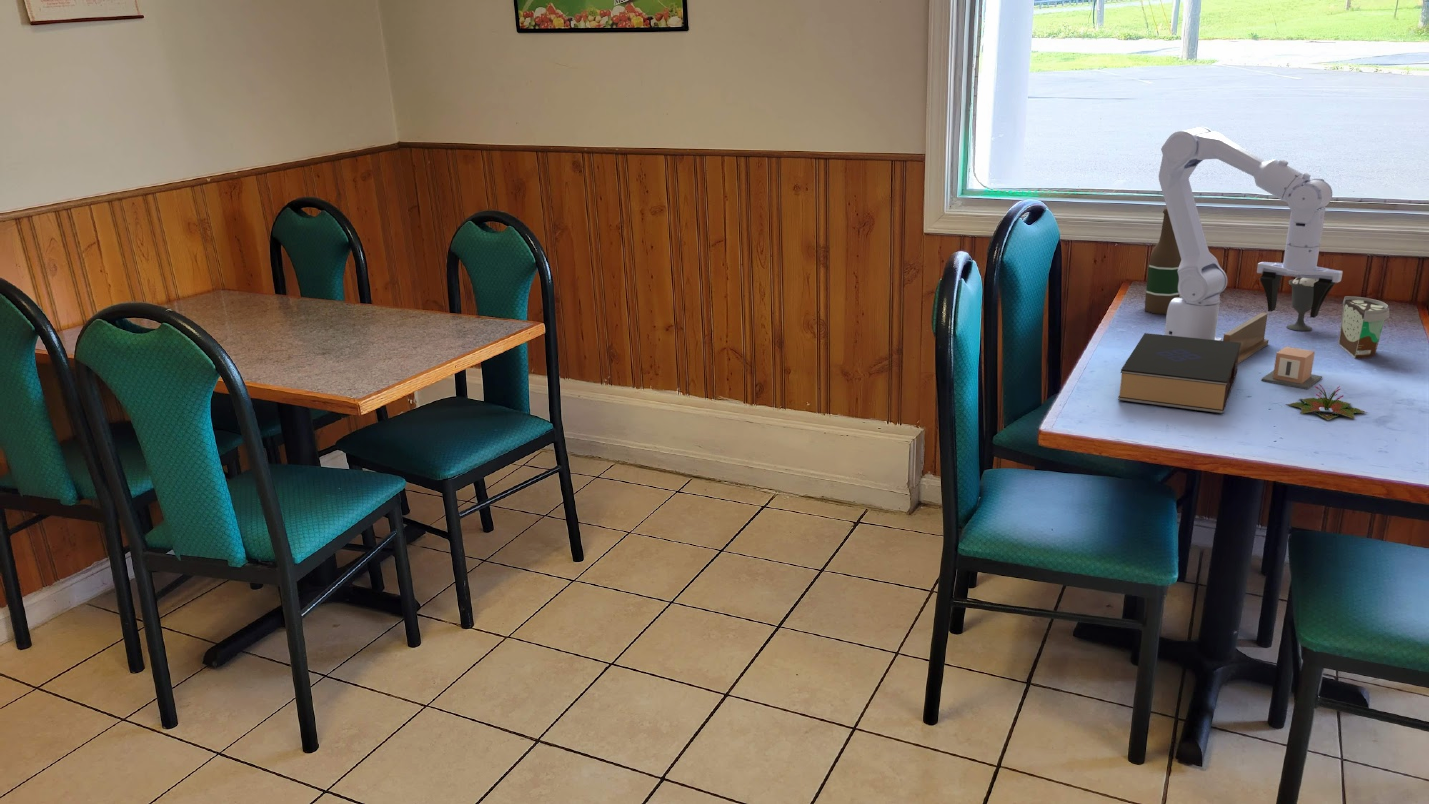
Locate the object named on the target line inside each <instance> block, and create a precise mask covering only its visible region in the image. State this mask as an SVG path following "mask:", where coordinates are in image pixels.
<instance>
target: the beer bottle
mask: <svg viewBox="0 0 1429 804" xmlns="http://www.w3.org/2000/svg"><path fill="white" fill-rule="evenodd" d="M1162 214H1163V219H1162V225H1161V232H1160V237H1159V240H1158V242H1157V243H1156V244H1155V246H1154V247H1153V249H1152V251H1151V253H1150V256H1149V257H1150V258H1149V262H1148V269H1147V279H1146V280H1147V281H1146V287H1145V288H1146V289H1145V299H1144V300H1145V301H1144V312H1148V313H1150V314H1151V313H1152V314H1153V315H1154V314H1155V315H1167V310H1168V306H1169V304H1170V302H1171V300H1172V299H1173V298H1180V297H1181V296H1180V294H1179V292H1178V283H1179V275H1178V268H1179V265H1180V262H1181V256H1180V253H1179V249H1178V246H1177V242H1176V239H1175V235H1174V231H1173V228H1172V224H1171V221H1170V217H1169V214H1168V210H1167V207H1164V208H1163V211H1162Z"/></svg>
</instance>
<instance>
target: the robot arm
mask: <svg viewBox="0 0 1429 804" xmlns="http://www.w3.org/2000/svg"><path fill="white" fill-rule="evenodd" d="M1160 151H1161V154H1162V158H1161V162H1160V166H1159V167H1160V168H1159V171H1158V182H1159V186H1160V189H1161V192H1162V196H1163V199H1164V202H1165V206H1166V207H1167V210H1168V214H1169V217H1170V221H1171V224H1172V228H1173V231H1174V235H1175V239H1176V242H1177V246H1178V249H1179V253H1180V256H1181V262H1180V265H1179V268H1178V275H1179V283H1178V292H1179V294H1180V296H1179V298H1173V299H1172V300H1171V302H1170V304H1169V306H1168V310H1167V314H1166V317H1165V328H1164V334H1163V335H1169V336H1179V337H1190V338H1200V339H1210V340H1220V341H1223V338H1222V337H1218V336H1217V337H1216V333H1217V325H1218V318H1219V310H1220V302H1221V299H1220V294H1221V293H1223V292H1224V291H1225V290H1226V288H1227V285H1228V277H1227V273H1226V272H1225V271H1224V270H1223V268H1222V267H1221V266H1220V264H1219V261H1218V259H1217V257H1215V255H1213V253H1211V252H1210V250H1209V247H1208V244H1207V238H1206V236H1205V232H1204V229H1203V225H1202V222H1201V218H1200V215H1199V211H1198V207H1197V203H1196V200H1195V197H1194V192H1193V189H1192V185H1191V183H1190V177H1191V175H1192V174H1193V172H1194V171H1195V170H1196V168H1197V167H1198V165H1199V164H1201V163H1202V162H1203V161H1204V160H1219V161H1221V162H1223V163H1224V164H1225V163H1226V164H1227V165H1229V166H1231V167H1233V168H1235V169H1237V170H1239V171H1242V172H1243V173H1245V174H1248V175H1250V176H1252V177H1253V178H1254V182H1255V185H1256V186H1257V187H1258V188H1260V189H1261V190H1264V191H1265V192H1267V193H1268V194H1270V195H1271V196H1274V197H1275V198H1278V199H1279V200H1281V201H1283V202H1285V203H1287V206H1288V208H1289V210H1290V218H1289V221H1288V226H1287V227H1288V229H1287V235H1286V240H1285V248H1284V254H1283V262H1272V261H1271V262H1270V261H1269V262H1268V261H1261V262H1258V263H1257V268H1256V273H1257V274H1261V276H1260V277H1259V280H1260V283H1261V285H1262V288H1263V289H1264V290H1263V291H1264V293H1265V297H1266V303H1267V311H1268V312H1270V313H1271V312H1274V311H1275V310H1276V308H1277V307H1276V306H1277V303H1278V292H1279V287H1280V283H1281V280H1282V276H1286V277H1294V278H1297V277H1301V278H1309V279H1317V280H1318V281H1317V282H1315V283H1314V294H1313V303H1312V308H1311V310H1310V318H1312V319H1314V318H1316V317H1318V315H1319V312H1320V309H1321V307H1322V305H1323V303H1324V301H1325V300H1326V297H1327V296H1328V294H1329V293H1330V292H1331V289H1332V288H1333V287H1334V286H1335V285H1336V284H1337V283H1340V282H1341V281H1342V277H1343V273H1344V272H1343V270H1338V269H1337V270H1336V269H1332V268H1331V269H1330V268H1327V267H1321V266H1317V265H1318V259H1319V252H1320V246H1321V242H1322V236H1323V235H1322V234H1323V229H1324V223H1325V222H1324V219H1325V214H1326V206H1329V205H1328V204H1329V203H1331V201H1332V198H1333V189H1332V187H1331V185H1330V184H1329V183H1328V182H1326V181H1325V180H1324V179H1323V178H1319V177H1318V178H1311V177H1312V176H1311V174H1309V173H1307V172H1306V173H1304V174H1303V173H1302V172H1300V171H1298V170H1296V169H1295V168H1293V167H1291V166H1288V165H1289V161H1287V160H1285V159H1281V160H1277V159H1271V160H1268V161H1265V160H1264V159H1262V158H1260V157H1258V156H1257V155H1255V154H1253V153H1251V152H1250V151H1249V150H1247V149H1245V148H1244V147H1242V146H1240V145H1238V144H1237V143H1235V142H1233V141H1232V140H1230V139H1229V138H1227V137H1225V136H1224V135H1223V134H1222V133H1220V132H1217V131H1214V130H1213V131H1212V129H1210V128H1209V127H1205V126H1197V127H1194V128H1192V129H1186V130H1178V131H1175V132H1172V134H1170V135H1169V137H1168V138H1167V139H1166V141H1165V142H1164V144H1163V145H1162V146H1161V148H1160Z"/></svg>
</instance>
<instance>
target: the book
mask: <svg viewBox="0 0 1429 804" xmlns="http://www.w3.org/2000/svg"><path fill="white" fill-rule="evenodd" d="M1240 346H1241V343H1240V342H1230V341H1223V340H1222V341H1220V340H1210V339H1200V338H1190V337H1179V336H1169V335H1164V334H1159V333H1158V334H1157V333H1149V332H1148V333H1147V332H1145V333H1143V335H1142V337H1141V338H1140V340H1139V341H1138V343H1137V344H1136V346H1135V348H1134V349H1133V351H1132V352H1131V354H1130V355H1129V356H1128V358H1127V360H1126V361H1125V363H1124V364H1123V366H1122V367H1121V369H1120V374H1121V376H1120V377H1121V378H1120V388H1119V395H1118V396H1117V397H1118V401H1122V402H1129V403H1130V402H1131V403H1139V404H1145V405H1146V404H1147V405H1153V406H1162V407H1168V408H1169V407H1170V408H1176V409H1184V410H1192V411H1200V412H1208V413H1216V414H1221V415H1222V414H1224V412H1225V409H1226V405H1227V403H1228V400H1229V397H1230V394H1231V391H1232V388H1233V386H1234V382H1235V380H1236V376H1237V373H1238V365H1239V363H1238V356H1239V349H1240Z"/></svg>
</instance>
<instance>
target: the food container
mask: <svg viewBox="0 0 1429 804" xmlns="http://www.w3.org/2000/svg"><path fill="white" fill-rule="evenodd" d="M1341 314H1342V315H1341V323H1340V328H1339V338H1338V344H1337V345H1338V346H1339V347H1341V348H1342V349H1343V350H1344V351H1346V352H1347V353H1348V355H1350V356H1351V357H1352V358H1354V359H1369V358H1372V357H1374V356H1376V353H1377V349H1378V345H1379V342H1380V338H1381V334H1382V331H1383V328H1384V324H1385V320H1387V319H1389V318H1390V308H1389V305H1388V304H1387V303H1385V302H1384V301H1381V300H1377V299H1373V298H1369V297H1361V296H1348V295H1347V296H1344V299H1343V301H1342V313H1341Z"/></svg>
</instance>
